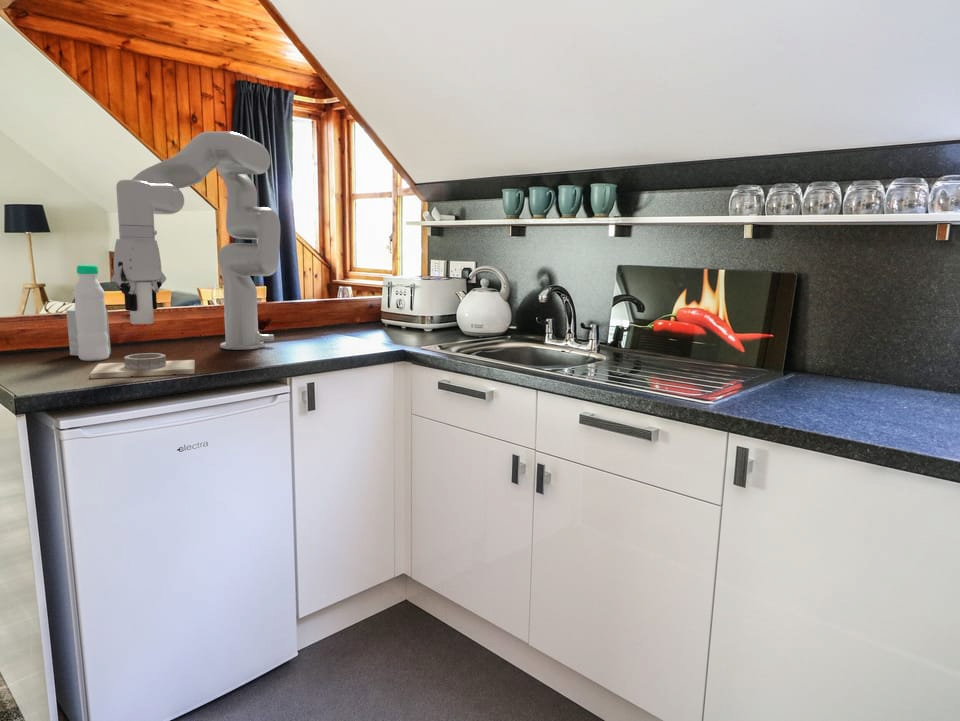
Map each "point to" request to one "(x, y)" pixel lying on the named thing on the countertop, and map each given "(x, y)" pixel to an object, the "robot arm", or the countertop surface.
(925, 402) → the countertop surface
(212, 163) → the robot arm
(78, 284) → the milk bottle
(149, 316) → the white round post
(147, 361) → the board
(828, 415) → the countertop surface
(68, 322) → the supplement box
